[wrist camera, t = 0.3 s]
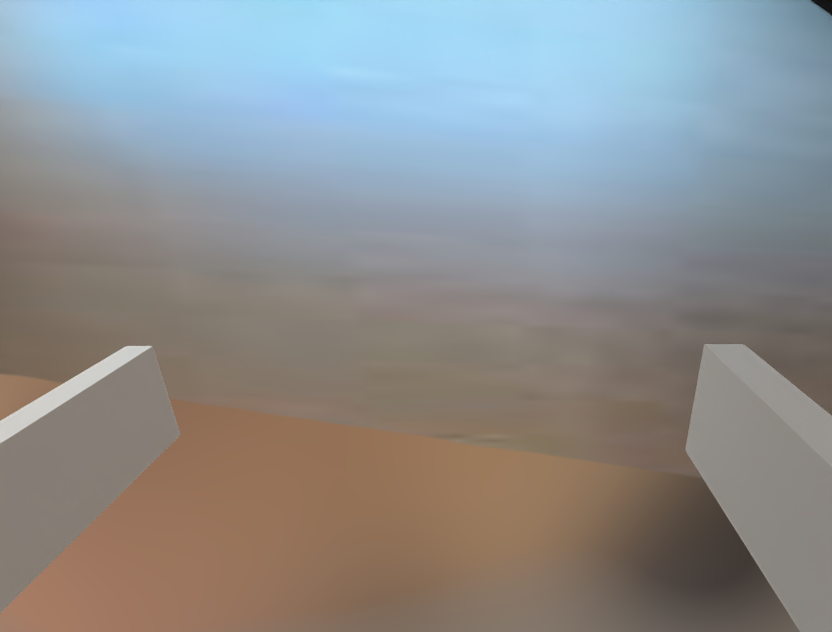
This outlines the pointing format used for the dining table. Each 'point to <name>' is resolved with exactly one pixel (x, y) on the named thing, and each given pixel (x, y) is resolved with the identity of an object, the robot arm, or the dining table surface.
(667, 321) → the dining table surface
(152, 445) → the robot arm
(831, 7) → the chess piece
